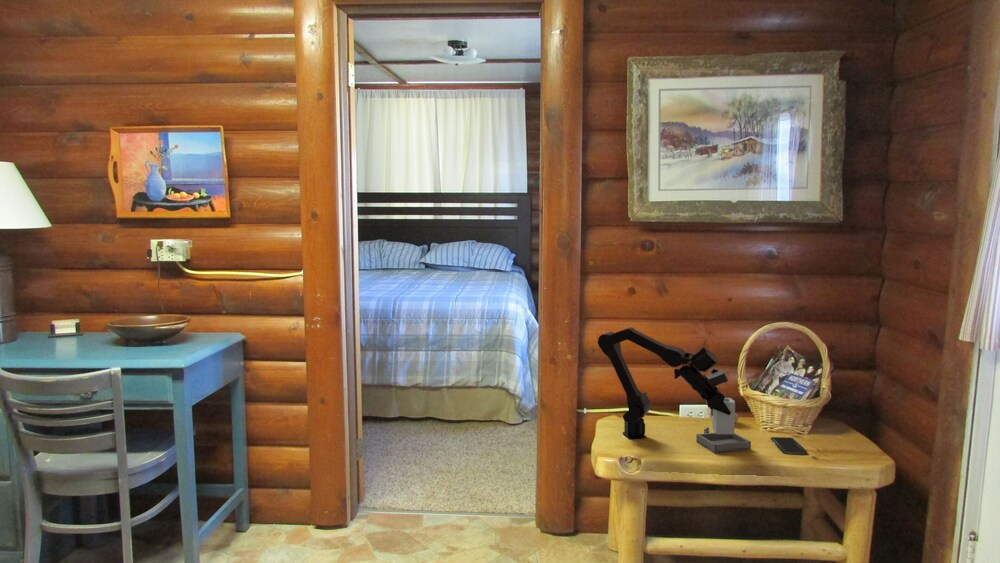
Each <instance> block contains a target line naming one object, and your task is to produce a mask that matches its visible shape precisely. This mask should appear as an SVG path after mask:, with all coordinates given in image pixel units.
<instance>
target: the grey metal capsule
mask: <svg viewBox="0 0 1000 563" xmlns="http://www.w3.org/2000/svg"><path fill="white" fill-rule="evenodd" d="M705 433H710V427H708V426H705V427H703V434H705Z"/></svg>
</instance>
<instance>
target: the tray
mask: <svg viewBox="0 0 1000 563" xmlns="http://www.w3.org/2000/svg"><path fill="white" fill-rule="evenodd" d="M695 441H696V443H697V444H699V445H700V446H702V447H704V448H705V449H707V450H709V451H710V452H712V453H713V454H722V453H732V452H743V451H750V450H752V448H751V447H752V441H750V440H749V439H747V438H745V437H743V436H741V435H739V434H737V433H735V432H734V434H716V433H715V432H709V433H705V434H704V433H696V440H695Z"/></svg>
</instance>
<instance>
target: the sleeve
mask: <svg viewBox="0 0 1000 563" xmlns="http://www.w3.org/2000/svg"><path fill="white" fill-rule="evenodd" d="M724 403H725V405H726V406H727V408H728V409H729V410H730V412H731V414H730V415H727V414H725V413H722V412H720V411H717V410H715V409H712V417H713V418H712V422H711V423H712V428H711V429H712V430H713V433H716V434H734V433H735V423H736V422H739V415H738V414H737V413H736V402H735V400H734V401H733V398H731V397H725V398H724Z"/></svg>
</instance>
